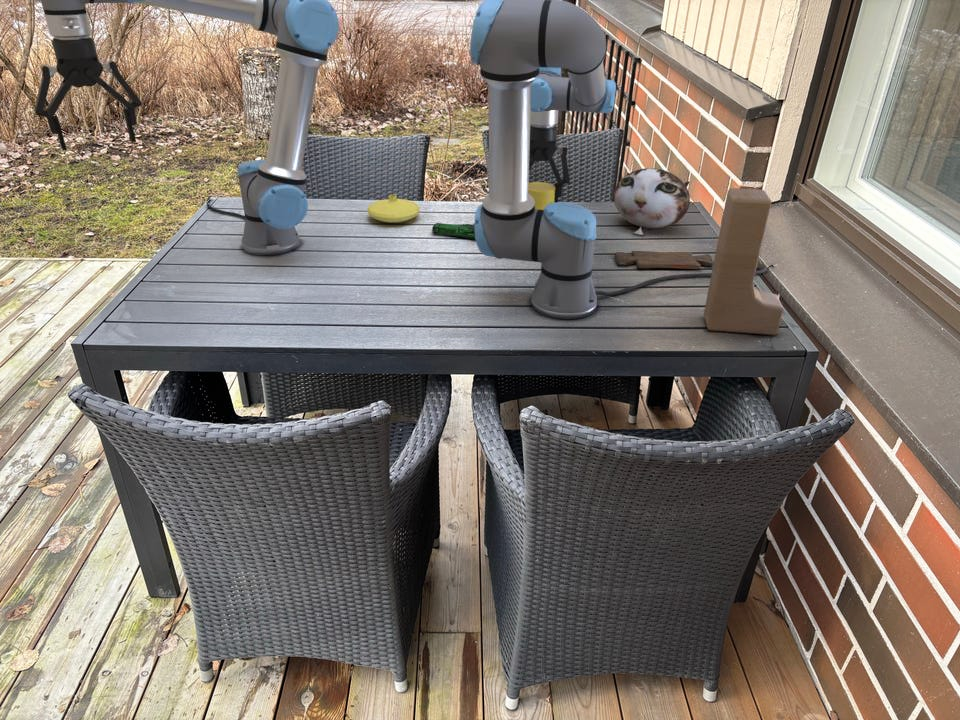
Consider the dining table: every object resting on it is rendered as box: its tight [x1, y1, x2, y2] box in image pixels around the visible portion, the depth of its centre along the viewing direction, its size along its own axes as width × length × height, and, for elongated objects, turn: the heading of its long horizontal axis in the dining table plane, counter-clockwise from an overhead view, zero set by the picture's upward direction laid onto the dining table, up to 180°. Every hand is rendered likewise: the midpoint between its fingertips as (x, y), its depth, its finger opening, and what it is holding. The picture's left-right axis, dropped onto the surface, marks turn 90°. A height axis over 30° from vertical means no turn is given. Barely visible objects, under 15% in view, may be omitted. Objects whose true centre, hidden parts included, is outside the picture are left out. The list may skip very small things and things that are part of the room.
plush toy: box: [613, 167, 691, 236], centre depth 209 cm, size 22×18×20 cm
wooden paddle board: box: [614, 250, 714, 270], centre depth 190 cm, size 26×2×10 cm
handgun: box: [431, 222, 476, 241], centre depth 208 cm, size 16×3×15 cm
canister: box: [528, 181, 555, 210], centre depth 198 cm, size 9×9×8 cm
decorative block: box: [703, 187, 785, 336], centre depth 152 cm, size 8×15×30 cm, turn 82°
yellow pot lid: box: [366, 194, 420, 224], centre depth 215 cm, size 16×16×7 cm
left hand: (99, 144), depth 154 cm, fingers open, 13 cm apart
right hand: (538, 208), depth 199 cm, fingers closed on canister, 9 cm apart
